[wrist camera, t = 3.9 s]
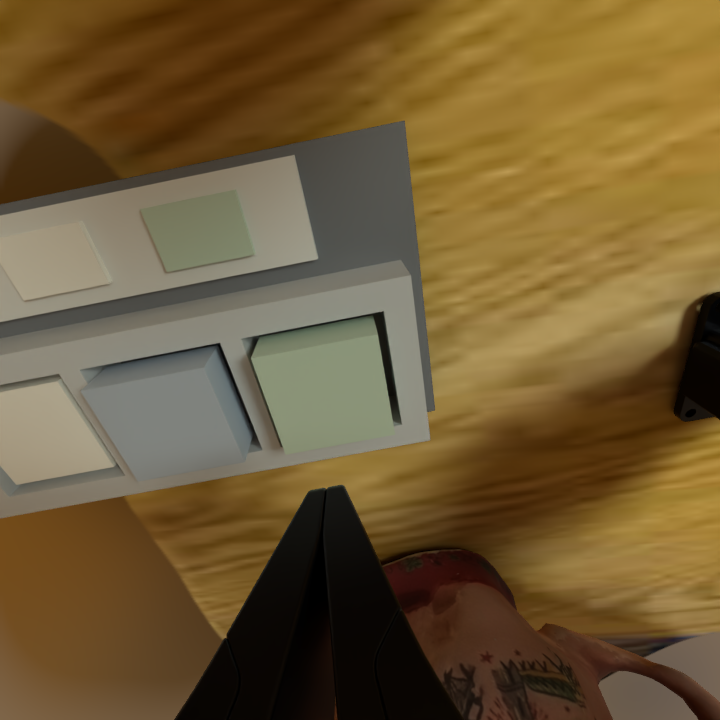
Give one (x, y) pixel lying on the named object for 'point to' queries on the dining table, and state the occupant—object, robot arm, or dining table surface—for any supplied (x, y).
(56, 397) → the ivory key
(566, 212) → the dining table surface
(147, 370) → the slate key
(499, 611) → the decorative planter
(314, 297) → the keypad
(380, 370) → the sage key
